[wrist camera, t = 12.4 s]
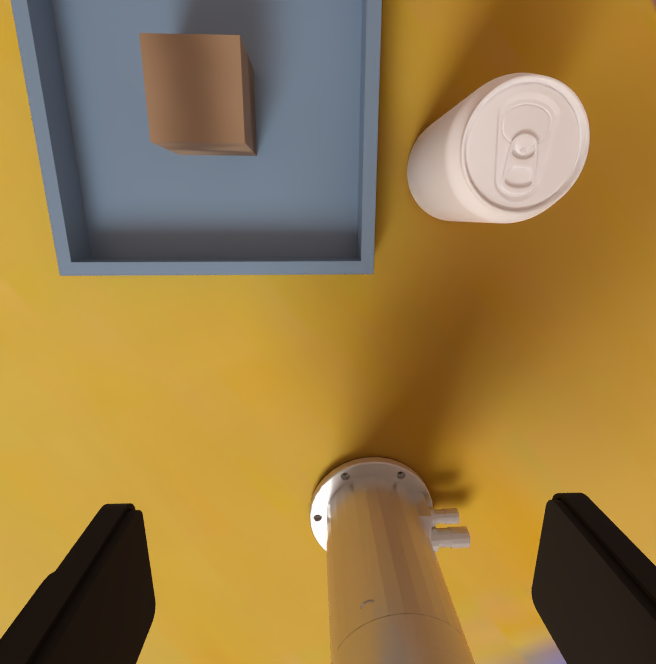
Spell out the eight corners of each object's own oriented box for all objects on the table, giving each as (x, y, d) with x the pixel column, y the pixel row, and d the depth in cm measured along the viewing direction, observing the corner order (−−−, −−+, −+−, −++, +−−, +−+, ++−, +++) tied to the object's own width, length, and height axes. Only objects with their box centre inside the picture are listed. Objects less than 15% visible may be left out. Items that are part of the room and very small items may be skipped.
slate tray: (375, -69, 29) (385, -112, 26) (367, 267, 36) (373, 274, 32) (32, -78, 29) (-12, -123, 25) (87, 269, 35) (60, 275, 31)
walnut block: (253, 69, 31) (239, 35, 25) (256, 155, 32) (244, 142, 26) (171, 67, 30) (139, 33, 25) (179, 155, 32) (150, 141, 26)
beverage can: (509, 120, 33) (615, 69, 22) (493, 223, 35) (581, 227, 24) (410, 113, 33) (464, 57, 21) (400, 218, 35) (443, 219, 23)
